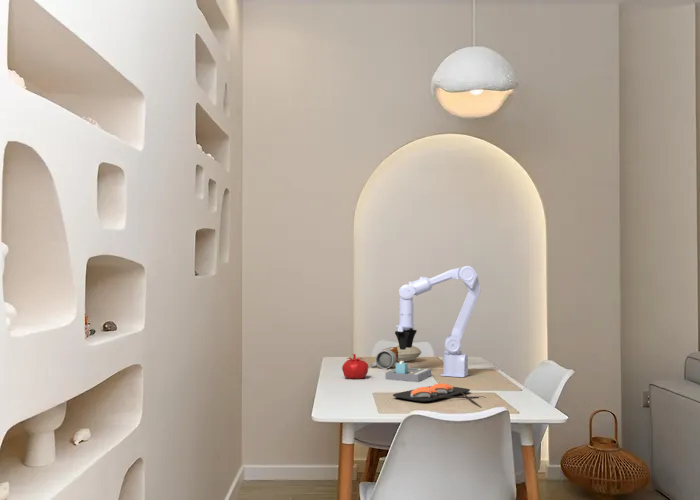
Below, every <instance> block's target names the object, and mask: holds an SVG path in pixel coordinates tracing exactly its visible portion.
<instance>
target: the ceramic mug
mask: <svg viewBox="0 0 700 500" xmlns="http://www.w3.org/2000/svg"><path fill="white" fill-rule="evenodd" d="M396 363H397V361H396V355H395V354H394V353H393V352H392V351H390V350H389V349H386V350H381V351H379V352H378V353H377V354H376V356H375V361H374V362H371V363H370V366H371V368H374V367H377V368H379V369H381V370H388V369H390V368H392V367H393V366H395V365H396Z"/></svg>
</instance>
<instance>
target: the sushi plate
mask: <svg viewBox="0 0 700 500" xmlns="http://www.w3.org/2000/svg"><path fill="white" fill-rule="evenodd" d="M470 391H471V389H470V388H467V387H466V388H465V387H458V386H452V385H451V384H449V383H448V384H447V383H434V384H433V385H430V386H420V387H417V388H415V389H410V390H406V391H405V390H404V391H400V392H395V393H394V394H392V396H393V397H395V398H398V399H402V400H405V399H406V401H411V400H412V401H413V402H418V401H419V403H420V402H421V403H427V401H428V402H431V401H436V400H437V401H438V400H441V399H468V400H469V401H470V402H471V403H472V404H473V405H475V406H477V407H479V408H481V409H483V407H482V406H481V405H479V404H478V403H477V402H476V401H475V400H473V399H480V398H479V397H480V396H468V395H466V394H465V393H469V392H470ZM456 395H463V396H456ZM484 396H485V395H484ZM484 396H482V397H484ZM484 398H485V397H484Z"/></svg>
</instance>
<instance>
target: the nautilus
mask: <svg viewBox="0 0 700 500" xmlns="http://www.w3.org/2000/svg"><path fill="white" fill-rule="evenodd" d="M386 350H389V351H392V352H393V353H394V354H395V355H396V362H398V363H400V361H404V363H408V362H412V361H413V360H416V359H417V358H418V357H420V355H421V353H422V351H421V349H420V348H419V347H417V346H414V345H412V347H411V348H406V349H405V350H402V349H400V347H399V345H397V346H394V347H391V346H388V347H387V348H383V351H386Z"/></svg>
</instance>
